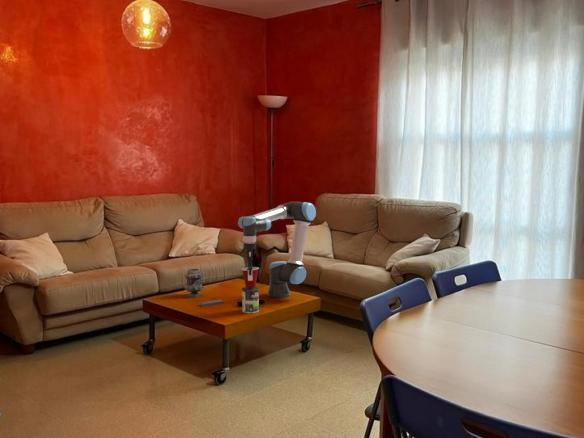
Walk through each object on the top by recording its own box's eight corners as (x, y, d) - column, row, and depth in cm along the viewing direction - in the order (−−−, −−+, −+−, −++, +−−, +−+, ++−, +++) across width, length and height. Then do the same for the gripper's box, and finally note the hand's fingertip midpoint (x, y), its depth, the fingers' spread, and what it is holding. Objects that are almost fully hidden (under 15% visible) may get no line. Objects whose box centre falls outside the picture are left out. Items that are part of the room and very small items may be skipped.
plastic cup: (252, 284, 342) (251, 265, 340) (262, 287, 334) (262, 267, 332) (237, 286, 335) (237, 267, 333) (248, 290, 326) (248, 270, 325)
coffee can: (262, 310, 337) (262, 288, 335) (251, 314, 329) (251, 291, 327) (249, 307, 343) (249, 285, 341) (238, 311, 335) (238, 288, 333)
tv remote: (220, 302, 357) (220, 299, 357) (223, 303, 354) (223, 300, 353) (199, 305, 350) (198, 302, 349) (201, 307, 346) (201, 304, 346)
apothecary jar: (204, 293, 379) (203, 267, 377) (202, 297, 367) (201, 271, 365) (186, 293, 378) (186, 267, 376) (183, 298, 366) (183, 271, 364)
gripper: (243, 239, 342) (244, 274, 345) (243, 245, 319) (243, 282, 322) (255, 239, 343) (256, 274, 345) (256, 245, 320) (256, 282, 322)
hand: (250, 278), depth 333 cm, fingers closed on plastic cup, 11 cm apart
